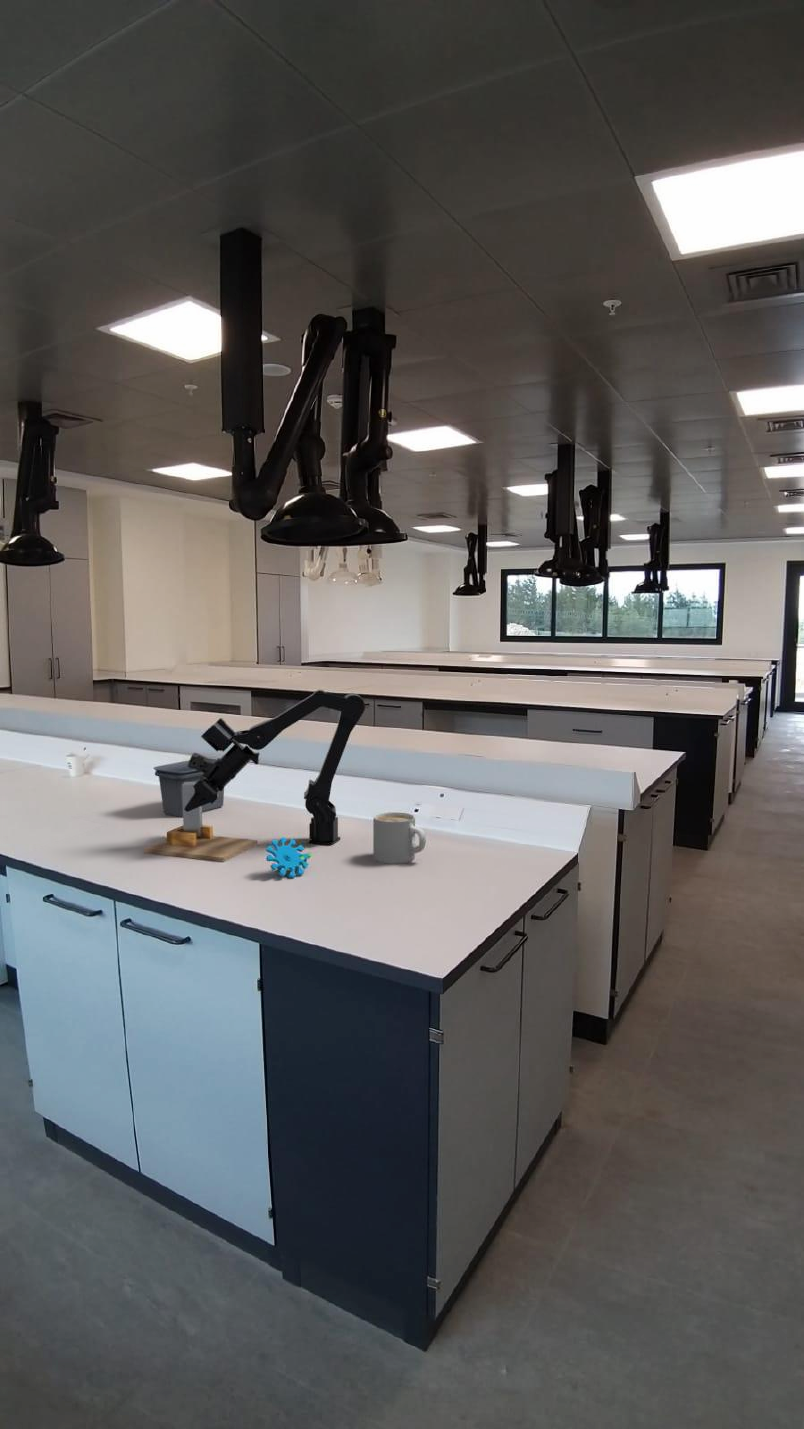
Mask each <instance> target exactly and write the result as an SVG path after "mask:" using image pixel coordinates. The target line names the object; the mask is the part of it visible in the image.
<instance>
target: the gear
mask: <svg viewBox="0 0 804 1429" xmlns="http://www.w3.org/2000/svg"><path fill="white" fill-rule="evenodd" d="M286 842H287V838H286V837H284V836H281V837H280V839H279V841H278V840H277V839H273V840H272V841H271V843H270V845H269V846H268V847H267V848H266V850H265V851H266V852H267V853H270V854H267V855H266V857H265V858H266V859H265V860H266V862H274V863H271V865H270V868H271V870H272V871H276V869H277V871H278V874H279V875H280V876H281V877H282V878H283V877H284V876H285V875H286V873H287V871H288V870H290V873H289V874H288V878H290V879H294V878H295V877H296V875H298V876H302V875H303V874H304V873H305V871H304V870H306V869H307V868H308V866H309V865H310V864H309V863H308V862H307V861H308V860H309V859H311V857H312V852H310V851H307V853H301V852H303V851H304V846H303V845H302V844H300V845H298V846H296V847H292V846H295V844H296V843H297V842H296V840H294V839H293V838H291V839H290V840H289V842H288V844H287V845H285V843H286ZM278 843H280V846H279V845H278ZM295 869H296V870H297V872H295Z"/></svg>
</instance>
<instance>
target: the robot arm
mask: <svg viewBox="0 0 804 1429" xmlns="http://www.w3.org/2000/svg"><path fill="white" fill-rule="evenodd" d="M323 707H324V708H327V709H330V710H334V711H337V712H338V711H339V714H338V718H337V719H338V720H337V726H336V728H335V731H334V734H333V737H332V739H331V741H330V744H329V747H328V749H327V752H326V754H325V758H324V760H323V762H322V765H321V767H320V771H319V772H318V773H319V774H318V776H317V777H316V779H315V780H312V779H309V780H308V786H307V788H306V790H305V792H304V793H303V799H304V800H305V802H304V805H305V808H306V810H307V812H308V813H309V814H311V815H312V817H310V823H309V826H308V829H309V832H308V833H309V836H308V837H309V838H308V839H309V840H307V842H308V843H309V844H316V845H325V846H332V845H334V844H335V843H336V842H339V841H340V840H341V836H339V817H337V809H336V808H337V807H336V805H334V804H333V802H332V801H330V796H331V791H332V784H333V780H334V778H335V775H336V773H337V770H338V767H339V764H340V762H341V759H342V756H343V754H344V751H345V748H346V746H347V743H348V740H349V738H350V735H351V733H352V731H353V730H354V728H355V727H356V725H357V724H358V722H359V720H360V719H361V717H362V716H363V714H364V713H365V709H366V704H365V701H364V699H363V698H362V697H361V696H360V695H359V694H357V693H353V692H351V693H348V694H340V693H335V692H329V691H325V690H323V689H317V690H315V691H314V692H313V693H312V694H311V695H309V696H308V697H305V698H304V699H302V700H301V701H299V702H298V703H296V704H295V705H293V706H291V707H289V708H288V709H287V710H285V711H283V712H282V713H280V714H278V715H277V716H275V717H272V718H269V719H266V720H264V721H262V722H259V723H257V724H254V725H252V726H251V727H250V728H249V729H245V730H238V731H235V730H234V729H233V728H232V727H231V726H229V724H228V723H227V722H226V721H225V720H224V719H223V718H222V717H220V718H219V719H218V720H216V722H215V723H213V725H211V726H210V727H209V728H208V729H206V730H205V732H203V733H202V734H201V736H200V737H201V739H203V740H204V741H205V742H206V743H207V744H208V745H209V746H210V747H211V748H213V749H214V750H215V752H219V751H220V752H223V753H224V752H225V751H226V750H227V749H228V748H229V747H230V746H231V745H232V744H233V745H232V746H231V747H230V749H229V750H227V752H225V753H224V754H223V755H222V756H221V757H219V758H217V759H218V760H217V761H216V762H215V761H213V760H211V759H209V758H210V757H207V756H205V755H202V754H200V753H197V752H193V753H192V754H191V756H190V758H189V759H188V760H189V763H188V765H187V766H188V767H189V768H191V769H192V768H193V769H196V770H198V771H200V772H203V774H202V775H203V776H204V777H205V778H202V777H200V778H199V780H198V781H197V782H196V783H195V785H194V786H193V787H194V789H195V793H194V795H193V796H192V798H191V799H190V801H189V802H188V804H187V805H186V807H185V808H184V810H185V811H186V812H188V811H191V810H193V809H195V808H198V807H200V806H203V805H205V804H208V803H211V804H212V803H213V802H214V801H215V800H216V799H217V798H218V797H219V791H222V790H223V789H224V790H225V787H226V786H227V785H228V784H229V783H230V782H231V781H233V780H234V779H235V777H236V776H237V775H238V774H239V773H240V772H241V771H242V770H243V769H244V768H245V767H246V766H247V765H248V764H249V763H250V761H251V762H252V763H254V764H255V766H257V765H259V762H260V752H254V751H253V750H255V751H260V750H262V749H265V747H267V746H268V745H269V744H270V743H271V742H272V741H274V739H276V738H277V737H278V736H279V735H280V734H281V733H282V732H283V731H284V730H286V729H287V728H289V727H291V726H292V725H294V724H295V723H297V722H299V721H300V720H301V719H303V718H305V717H307V716H308V715H310V714H312V713H313V712H315V711H316V710H318V709H319V708H323ZM243 745H245V746H243ZM217 788H218V789H217Z"/></svg>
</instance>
